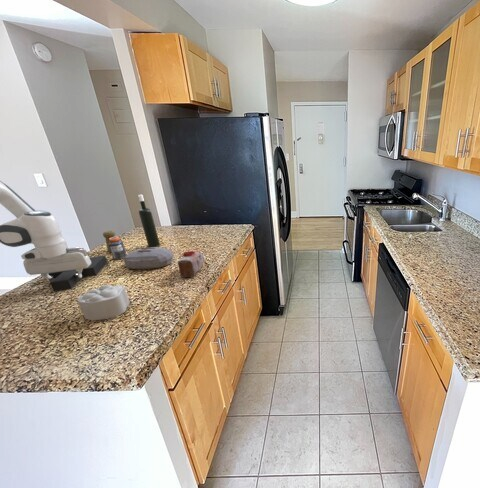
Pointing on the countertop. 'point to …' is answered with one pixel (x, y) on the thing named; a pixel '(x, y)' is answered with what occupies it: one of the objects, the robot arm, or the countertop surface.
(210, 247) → the countertop surface
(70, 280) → the pad
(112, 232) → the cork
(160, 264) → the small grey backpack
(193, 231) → the countertop surface
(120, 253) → the pill bottle
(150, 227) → the wine bottle
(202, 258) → the food item
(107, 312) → the lumpy-topped squat cylinder
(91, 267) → the base pad
